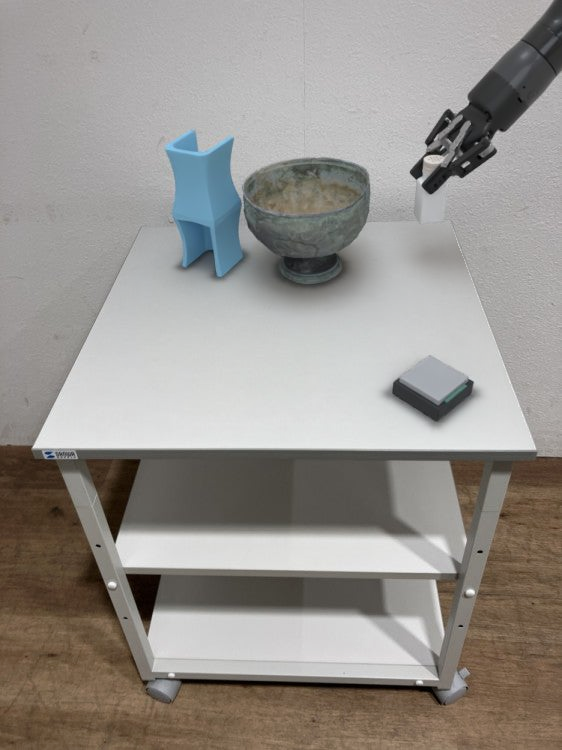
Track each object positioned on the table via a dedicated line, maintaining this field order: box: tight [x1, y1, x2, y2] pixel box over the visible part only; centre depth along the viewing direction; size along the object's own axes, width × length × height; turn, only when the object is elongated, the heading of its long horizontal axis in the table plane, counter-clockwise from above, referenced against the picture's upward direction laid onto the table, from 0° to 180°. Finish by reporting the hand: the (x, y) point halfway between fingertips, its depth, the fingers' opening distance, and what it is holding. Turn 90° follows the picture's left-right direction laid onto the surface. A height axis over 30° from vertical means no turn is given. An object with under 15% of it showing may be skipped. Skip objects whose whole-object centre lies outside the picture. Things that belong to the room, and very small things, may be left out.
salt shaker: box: [413, 155, 449, 225], centre depth 93 cm, size 4×4×10 cm
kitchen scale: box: [391, 354, 475, 422], centre depth 77 cm, size 7×7×3 cm
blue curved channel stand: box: [164, 129, 244, 278], centre depth 98 cm, size 8×8×20 cm
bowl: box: [241, 156, 371, 285], centre depth 96 cm, size 20×19×15 cm
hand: (420, 183), depth 92 cm, fingers closed on salt shaker, 4 cm apart
